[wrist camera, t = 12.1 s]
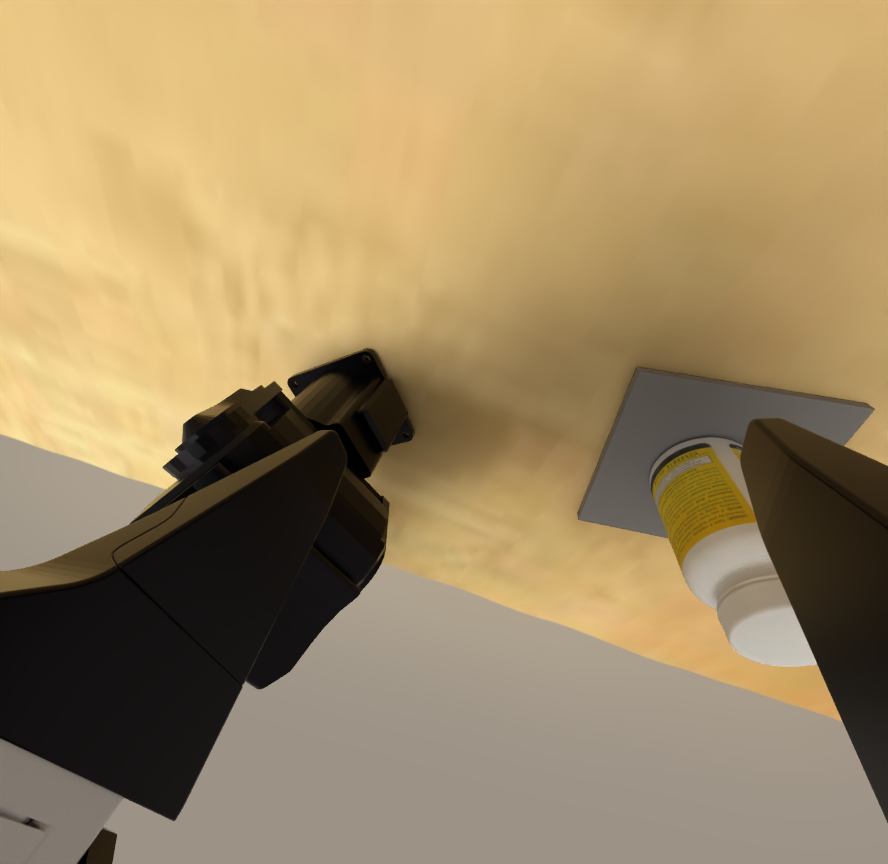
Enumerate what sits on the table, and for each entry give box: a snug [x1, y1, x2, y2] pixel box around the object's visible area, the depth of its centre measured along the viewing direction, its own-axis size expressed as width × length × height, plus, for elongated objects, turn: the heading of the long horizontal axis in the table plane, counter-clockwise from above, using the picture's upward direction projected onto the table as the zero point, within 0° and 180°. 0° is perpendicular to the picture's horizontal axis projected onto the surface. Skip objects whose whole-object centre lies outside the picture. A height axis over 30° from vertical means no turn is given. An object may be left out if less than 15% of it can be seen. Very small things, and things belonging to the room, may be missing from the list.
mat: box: [577, 367, 875, 538], centre depth 22 cm, size 11×11×1 cm
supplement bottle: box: [649, 437, 817, 667], centre depth 18 cm, size 5×5×10 cm
